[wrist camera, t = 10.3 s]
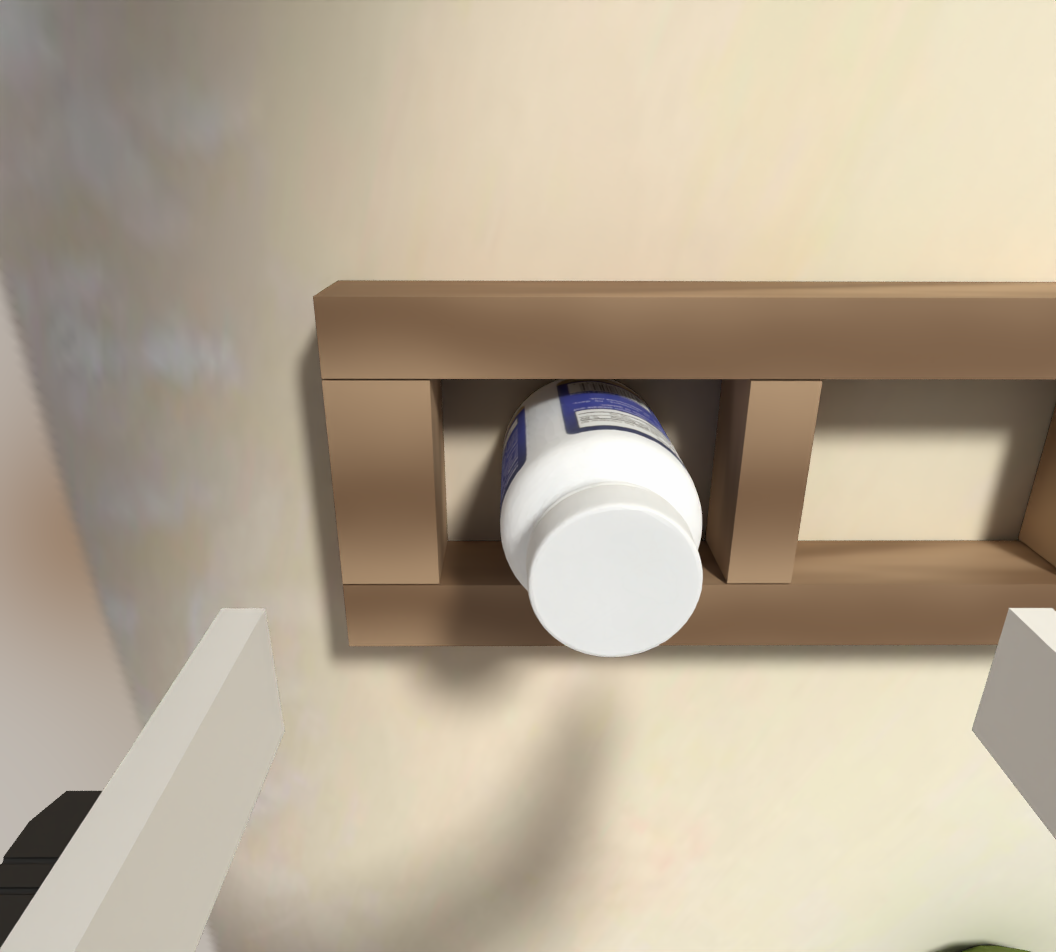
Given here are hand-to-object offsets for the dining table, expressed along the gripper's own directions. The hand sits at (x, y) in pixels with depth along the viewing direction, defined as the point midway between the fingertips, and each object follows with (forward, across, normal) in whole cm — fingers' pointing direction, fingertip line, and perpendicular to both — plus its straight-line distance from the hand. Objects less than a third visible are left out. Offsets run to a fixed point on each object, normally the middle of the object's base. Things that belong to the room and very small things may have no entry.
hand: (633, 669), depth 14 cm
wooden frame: (+12, +5, -1) cm, 13 cm away
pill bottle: (+12, 0, -1) cm, 13 cm away
